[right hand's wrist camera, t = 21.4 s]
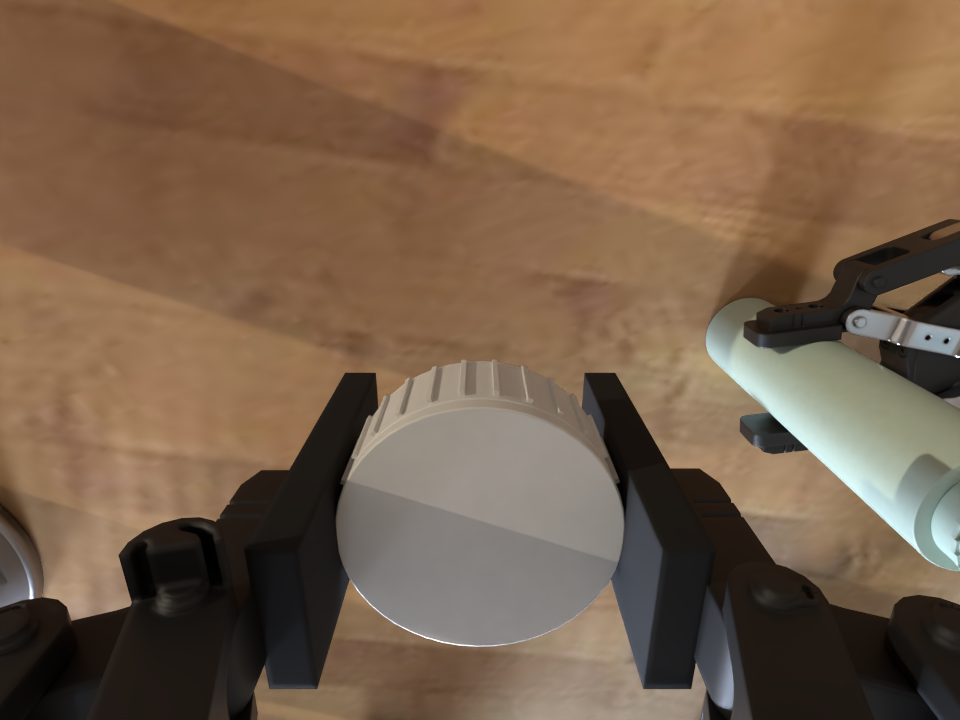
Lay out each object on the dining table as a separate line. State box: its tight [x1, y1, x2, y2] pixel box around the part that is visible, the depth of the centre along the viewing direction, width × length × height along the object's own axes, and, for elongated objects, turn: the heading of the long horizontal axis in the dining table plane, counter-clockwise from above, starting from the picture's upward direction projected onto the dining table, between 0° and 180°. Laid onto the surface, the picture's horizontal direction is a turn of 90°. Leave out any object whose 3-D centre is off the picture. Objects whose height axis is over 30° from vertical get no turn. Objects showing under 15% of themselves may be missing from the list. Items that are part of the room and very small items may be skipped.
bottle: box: [706, 298, 960, 571], centre depth 26 cm, size 5×5×20 cm
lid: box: [336, 359, 625, 646], centre depth 11 cm, size 5×5×2 cm
